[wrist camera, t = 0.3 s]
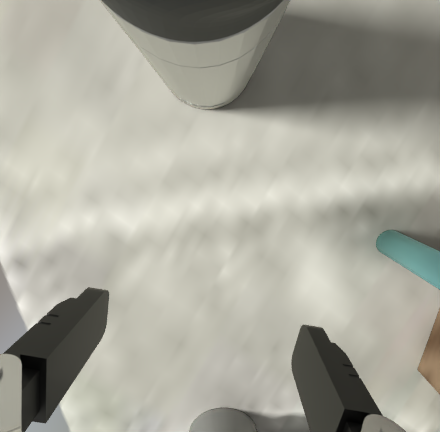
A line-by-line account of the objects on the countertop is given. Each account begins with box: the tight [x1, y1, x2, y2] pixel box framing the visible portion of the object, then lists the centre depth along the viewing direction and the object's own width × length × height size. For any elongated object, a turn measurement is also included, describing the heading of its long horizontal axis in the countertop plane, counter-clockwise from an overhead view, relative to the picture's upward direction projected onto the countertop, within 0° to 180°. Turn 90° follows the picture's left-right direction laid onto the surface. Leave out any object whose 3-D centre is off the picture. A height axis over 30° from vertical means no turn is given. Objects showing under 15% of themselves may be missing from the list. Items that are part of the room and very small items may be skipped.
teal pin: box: [376, 230, 440, 290], centre depth 24 cm, size 3×3×12 cm
